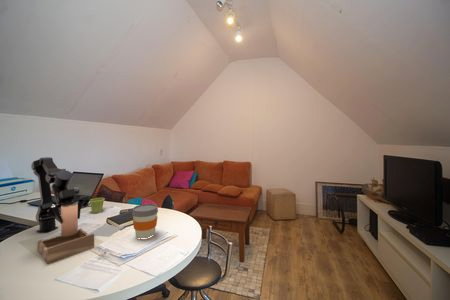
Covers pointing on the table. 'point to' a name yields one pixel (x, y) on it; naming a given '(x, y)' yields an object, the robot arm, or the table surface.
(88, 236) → the open wooden box
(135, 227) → the reusable coffee cup
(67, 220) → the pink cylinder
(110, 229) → the grey mat
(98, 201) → the plant pot
